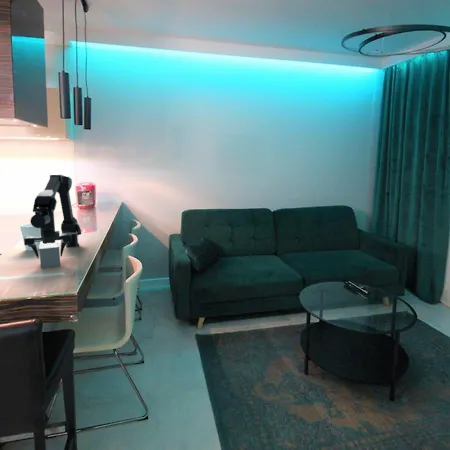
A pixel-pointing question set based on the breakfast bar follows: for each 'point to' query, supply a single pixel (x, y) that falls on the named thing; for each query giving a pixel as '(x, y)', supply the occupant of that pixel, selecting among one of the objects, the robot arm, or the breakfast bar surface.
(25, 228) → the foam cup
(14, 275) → the breakfast bar surface
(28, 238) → the robot arm
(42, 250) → the matte grey cube
